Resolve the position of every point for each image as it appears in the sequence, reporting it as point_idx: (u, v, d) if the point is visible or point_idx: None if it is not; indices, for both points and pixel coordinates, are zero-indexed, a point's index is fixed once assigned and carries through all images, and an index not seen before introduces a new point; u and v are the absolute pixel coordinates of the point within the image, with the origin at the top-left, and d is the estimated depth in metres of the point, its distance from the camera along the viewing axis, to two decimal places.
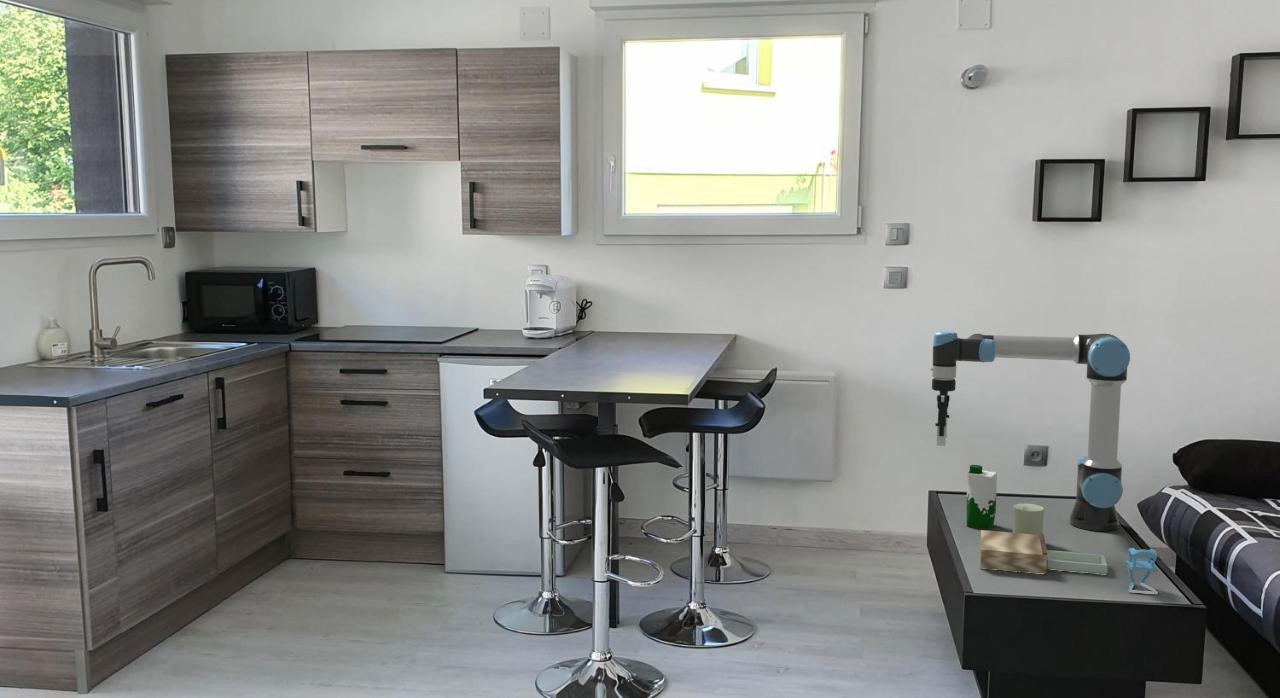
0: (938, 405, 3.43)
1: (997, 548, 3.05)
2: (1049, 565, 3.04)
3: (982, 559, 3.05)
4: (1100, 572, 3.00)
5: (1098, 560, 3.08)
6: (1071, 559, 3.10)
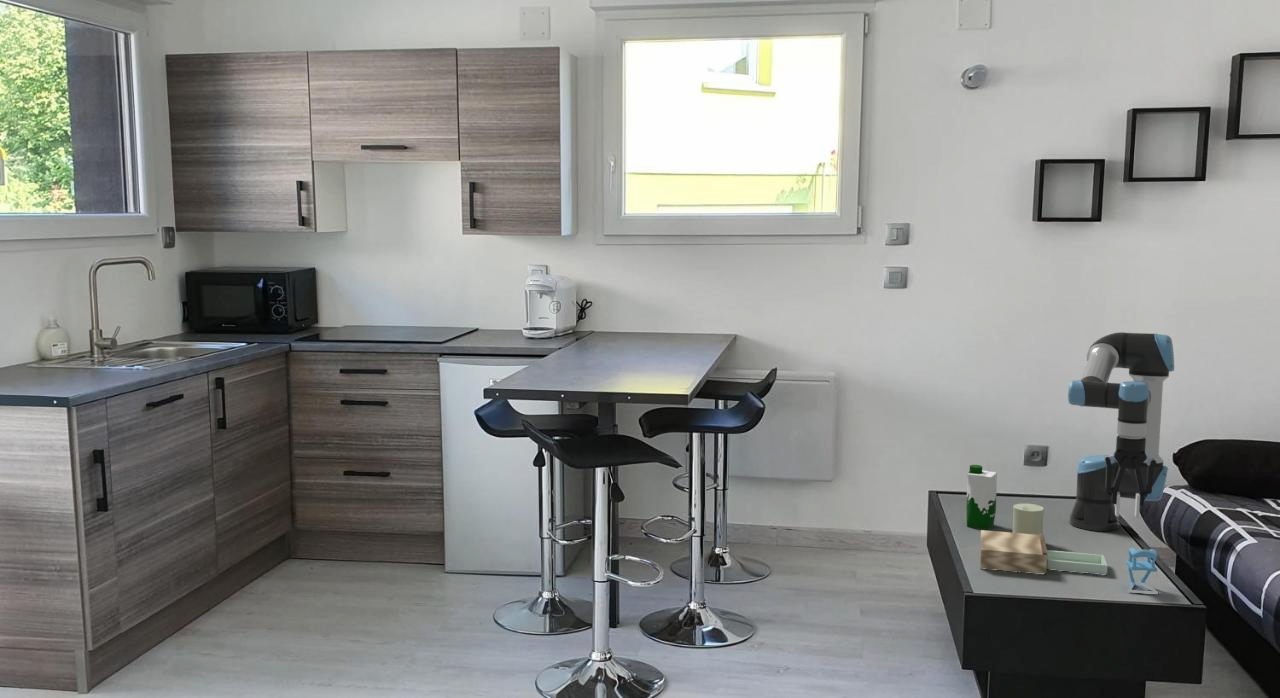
0: (1119, 466, 3.01)
1: (997, 548, 3.05)
2: (1049, 565, 3.04)
3: (982, 559, 3.05)
4: (1100, 572, 3.00)
5: (1098, 560, 3.08)
6: (1071, 559, 3.10)
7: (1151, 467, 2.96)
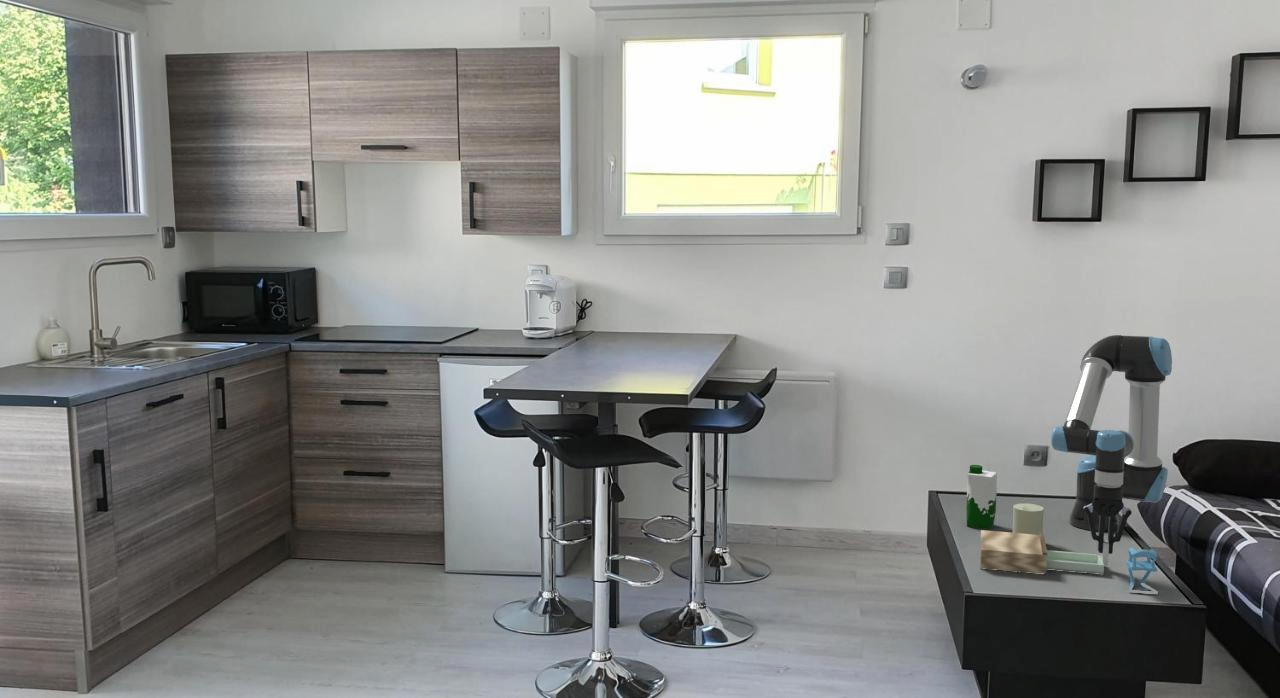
0: (1099, 515, 3.04)
1: (997, 548, 3.05)
2: None
3: (982, 559, 3.05)
4: (1097, 572, 3.00)
5: (1094, 560, 3.08)
6: (1068, 559, 3.10)
7: (1125, 517, 2.99)
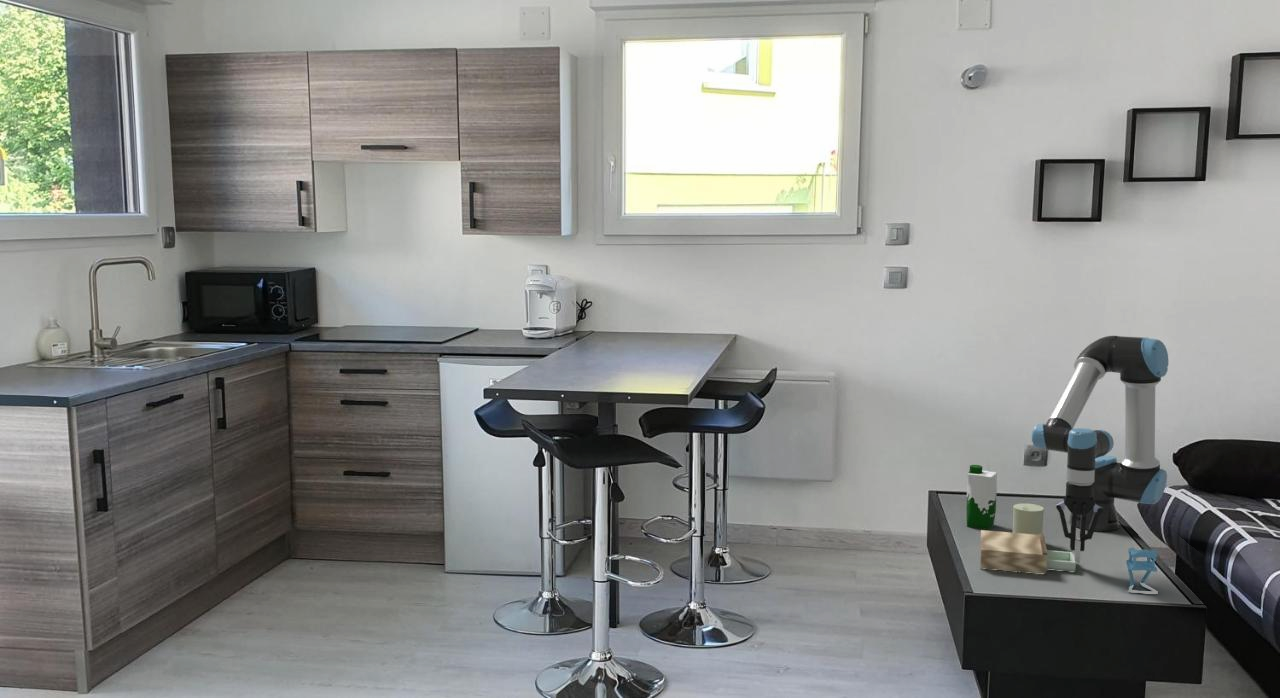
0: (1071, 513, 3.06)
1: (997, 548, 3.05)
2: None
3: (982, 559, 3.05)
4: (1068, 569, 3.02)
5: (1067, 557, 3.11)
6: None
7: (1097, 514, 3.02)
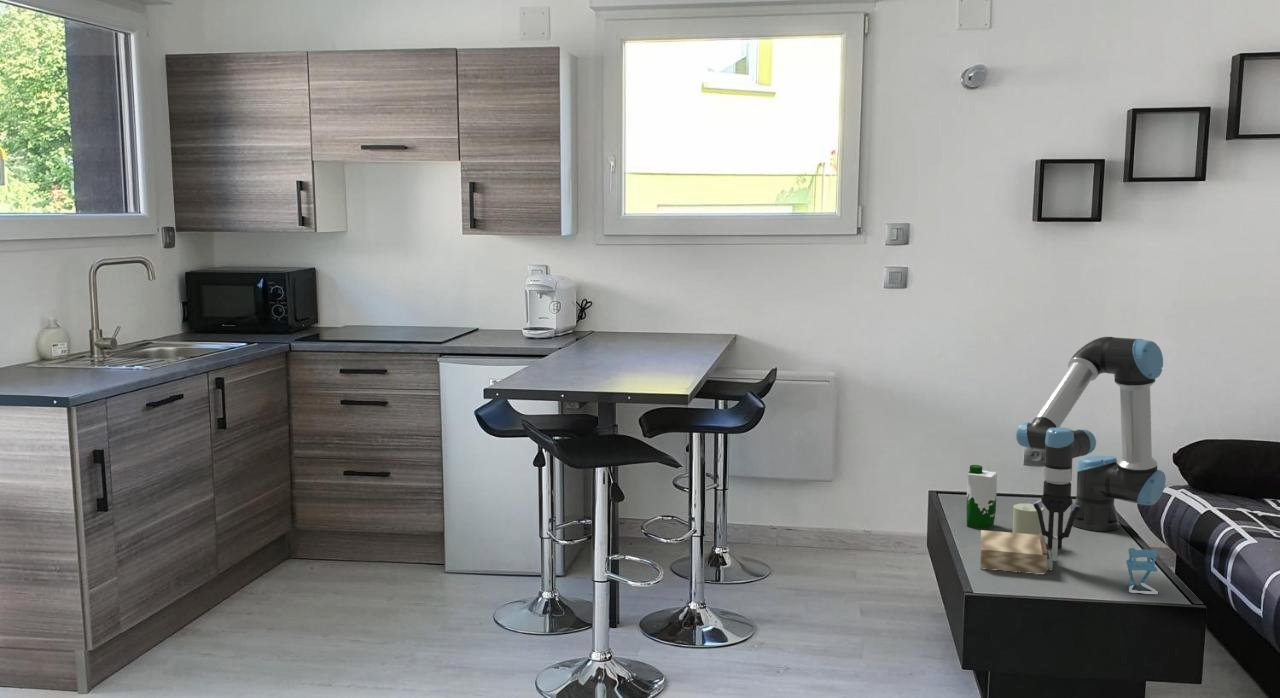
0: None
1: (997, 548, 3.05)
2: None
3: (982, 559, 3.05)
4: None
5: None
6: None
7: (1074, 513, 3.03)
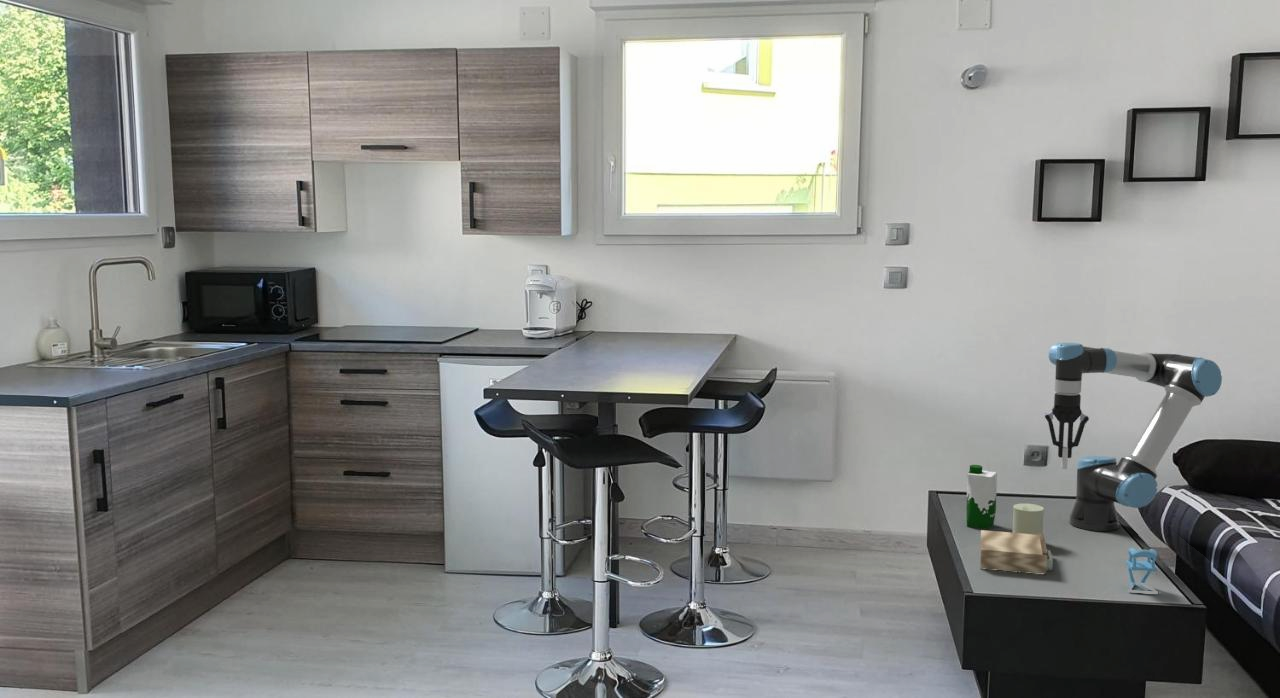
0: (1059, 422, 3.26)
1: (997, 548, 3.05)
2: None
3: (982, 559, 3.05)
4: None
5: None
6: None
7: (1083, 423, 3.21)
